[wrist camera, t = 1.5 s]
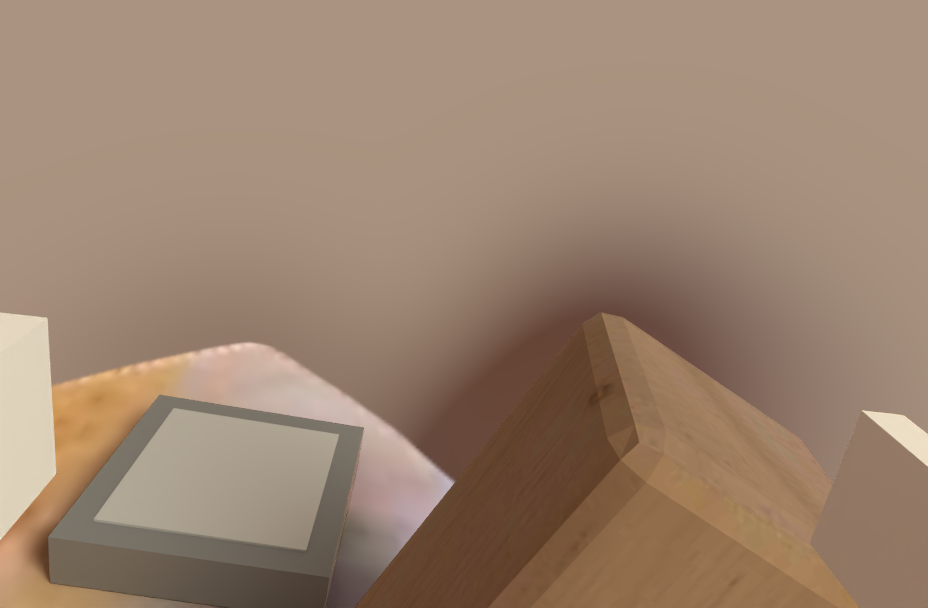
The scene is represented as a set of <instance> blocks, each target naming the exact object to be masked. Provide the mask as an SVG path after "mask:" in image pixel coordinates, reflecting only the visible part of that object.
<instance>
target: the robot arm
mask: <svg viewBox="0 0 928 608" xmlns="http://www.w3.org/2000/svg"><path fill="white" fill-rule="evenodd" d="M55 475H56V459H55V441H54V424H53V407H52V390H51V375H50V356H49V339H48V321H47V318H43V317H34V316H26V315H17V314H8V313H0V540H1V539H2V537H3V536H4V535H5V534H6V533H7V531H8V530H9V529H10V528H11V527H12V525H13V524H14V523H15V522H16V521H17V520H18V518H19V517H20V516H21V515H22V514H23V512H24V511H25V510H26V509H27V508H28V507H29V505H30V504H31V503H32V502H33V501H34V499H35V498H36V497H37V496H38V495H39V494H40V492H41V491H42V490H43V489H44V488H45V486H46V485H47V484H48V483H49V482H50V480H51V479H52V478H53V477H54V476H55ZM810 544H811V545H812V547H813V548H814V549H815V550H816V552H817V553H818V554H819V556H820V557H821V558H822V560H823V561H824V562H825V563H826V565H827V566H828V567H829V569H830V570H831V571H832V573H833V574H834V575H835V576H836V578H837V579H838V580H839V582H840V583H841V584H842V586H843V587H844V588H845V590H846V591H847V592H848V593H849V595H850V596H851V597H852V599H853V600H854V601H855V603H856V604H857V605H858V606H859V608H928V434H927V433H925V432H924V431H923V430H922V429H920V428H919V427H918V426H916V425H915V424H914V423H913V422H911V421H910V420H909V419H907V418H906V417H905V416H904V415H897V414H888V413H879V412H870V411H861V413H860V416H859V418H858V421H857V423H856V426H855V429H854V431H853V434H852V436H851V439H850V441H849V444H848V446H847V449H846V451H845V454H844V457H843V459H842V462H841V464H840V467H839V469H838V472H837V475H836V477H835V480H834V482H833V485H832V487H831V490H830V492H829V495H828V497H827V500H826V502H825V505H824V508H823V510H822V513H821V515H820V518H819V520H818V523H817V525H816V528H815V530H814V533H813V536H812V538H811V541H810Z"/></svg>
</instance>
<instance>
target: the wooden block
mask: <svg viewBox="0 0 928 608" xmlns="http://www.w3.org/2000/svg"><path fill="white" fill-rule="evenodd" d="M832 485H833V484H832V482H831V481H830V480H829V478H828V477H827V475H826V474H825V473H824V471H823V470H822V469H821V467H820V466H819V464H818V463H817V462H816V460H815V459H814V458H813V456H812V455H811V453H810V452H809V451H808V450H807V448H806V447H805V445H804V444H803V443H802V441H801V440H800V439H799V438H798V437H797V436H795V435H794V434H792V433H791V432H790V431H788V430H787V429H785V428H784V427H782V426H781V425H779V424H778V423H776V422H775V421H773V420H772V419H771V418H769V417H768V416H766V415H765V414H763V413H762V412H760V411H759V410H757V409H756V408H754V407H753V406H752V405H750V404H749V403H747V402H746V401H744V400H743V399H741V398H740V397H738V396H737V395H735V394H734V393H733V392H731V391H730V390H728V389H727V388H725V387H724V386H722V385H721V384H719V383H718V382H716V381H715V380H713V379H712V378H711V377H709V376H708V375H706V374H705V373H703V372H702V371H700V370H699V369H697V368H696V367H695V366H693V365H691V364H690V363H689V362H687V361H686V360H684V359H683V358H681V357H680V356H678V355H677V354H675V353H674V352H673V351H671V350H670V349H668V348H667V347H665V346H664V345H662V344H661V343H659V342H658V341H657V340H655V339H654V338H652V337H651V336H649V335H648V334H646V333H645V332H643V331H642V330H640V329H639V328H638V327H636V326H635V325H633V324H632V323H630V322H629V321H627V320H626V319H624V318H623V317H618V316H614V315H609V314H604V313H601V312H600V313H598V314H597V315H595V316H594V317H593V318H591V319H589V320H588V321H586V322H584V323H582V325H581V326H580V327H579V329H578V330H577V331H576V332H575V333H574V335H573V336H572V337H571V338H570V340H569V341H568V342H567V343H566V345H565V346H564V347H563V349H562V350H561V351H560V352H559V354H558V355H557V356H556V357H555V358H554V360H553V361H552V362H551V363H550V365H549V366H548V367H547V368H546V370H545V371H544V372H543V373H542V375H541V376H540V377H539V378H538V380H537V381H536V382H535V383H534V385H533V386H532V387H531V388H530V390H529V391H528V392H527V393H526V395H525V396H524V397H523V398H522V400H521V401H520V402H519V403H518V404H517V406H516V407H515V408H514V409H513V411H512V412H511V413H510V414H509V416H508V417H507V418H506V419H505V421H504V422H503V423H502V424H501V426H500V427H499V428H498V429H497V431H496V432H495V433H494V434H493V436H492V437H491V438H490V439H489V441H488V442H487V443H486V444H485V446H484V447H483V448H482V450H481V451H480V452H479V453H478V454H477V456H476V457H475V458H474V460H473V461H472V462H471V463H470V465H469V466H468V467H467V468H466V470H465V471H464V472H463V473H462V475H461V476H460V477H459V478H458V479H457V481H456V482H455V483H454V484H453V486H452V487H451V488H450V489H449V491H448V492H447V493H446V494H445V496H444V497H443V498H442V499H441V501H440V502H439V503H438V504H437V506H436V507H435V508H434V509H433V511H432V512H431V513H430V514H429V516H428V517H427V518H426V519H425V521H424V522H423V523H422V524H421V526H420V527H419V528H418V529H417V531H416V532H415V533H414V534H413V536H412V537H411V538H410V539H409V541H408V542H407V543H406V544H405V546H404V547H403V548H402V549H401V551H400V552H399V553H398V554H397V556H396V557H395V558H394V559H393V561H392V562H391V563H390V564H389V566H388V567H387V568H386V569H385V571H384V572H383V573H382V574H381V576H380V577H379V578H378V579H377V581H376V582H375V583H374V584H373V586H372V587H371V588H370V589H369V591H368V592H367V593H366V594H365V596H364V597H363V598H362V599H361V601H360V602H359V603H358V604H357V606H356V607H355V608H859V606H858V605H857V604H856V603H855V601H854V600H853V599H852V597H851V596H850V595H849V593H848V592H847V591H846V590H845V588H844V587H843V586H842V584H841V583H840V582H839V580H838V579H837V578H836V576H835V575H834V574H833V573H832V571H831V570H830V569H829V567H828V566H827V565H826V563H825V562H824V561H823V560H822V558H821V557H820V556H819V554H818V553H817V552H816V550H815V549H814V548H813V547H812V545H811V544H810V541H811V538H812V536H813V533H814V530H815V528H816V525H817V523H818V520H819V518H820V515H821V513H822V510H823V508H824V505H825V502H826V500H827V497H828V495H829V492H830V490H831V487H832Z"/></svg>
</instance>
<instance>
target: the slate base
mask: <svg viewBox="0 0 928 608" xmlns="http://www.w3.org/2000/svg"><path fill="white" fill-rule="evenodd" d="M363 431H364V428H363V427H356V426H350V425H344V424H338V423H332V422H325V421H319V420H313V419H307V418H300V417H294V416H288V415H282V414H276V413H269V412H263V411H257V410H251V409H245V408H238V407H232V406H226V405H220V404H213V403H207V402H201V401H195V400H189V399H182V398H176V397H170V396H164V395H159V396H158V398H157V399H156V400H155V401H154V403H153V404H152V405H151V406H150V408H149V409H148V410H147V412H146V413H145V414H144V415H143V417H142V418H141V419H140V420H139V422H138V423H137V424H136V426H135V427H134V428H133V429H132V431H131V432H130V433H129V434H128V436H127V437H126V438H125V440H124V441H123V442H122V443H121V445H120V446H119V447H118V448H117V450H116V451H115V452H114V454H113V455H112V456H111V457H110V459H109V460H108V461H107V463H106V464H105V465H104V466H103V468H102V469H101V470H100V471H99V473H98V474H97V475H96V477H95V478H94V479H93V480H92V482H91V483H90V484H89V485H88V487H87V488H86V489H85V491H84V492H83V493H82V494H81V496H80V497H79V498H78V499H77V501H76V502H75V503H74V505H73V506H72V507H71V508H70V510H69V511H68V512H67V513H66V515H65V516H64V517H63V519H62V520H61V521H60V522H59V524H58V525H57V526H56V528H55V529H54V530H53V531H52V533H51V534H50V535H49V536H48V550H49V573H50V583H54V584H61V585H69V586H76V587H83V588H90V589H97V590H105V591H112V592H119V593H126V594H134V595H141V596H148V597H155V598H162V599H170V600H177V601H184V602H191V603H198V604H206V605H213V606H220V607H227V608H326V604H327V599H328V595H329V590H330V586H331V582H332V577H333V573H334V568H335V564H336V559H337V555H338V551H339V546H340V542H341V537H342V533H343V528H344V524H345V520H346V515H347V511H348V506H349V502H350V497H351V493H352V489H353V484H354V480H355V475H356V471H357V466H358V462H359V455H360V449H361V443H362V437H363Z"/></svg>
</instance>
